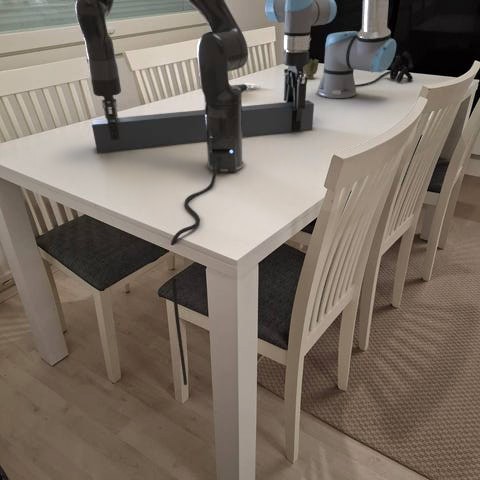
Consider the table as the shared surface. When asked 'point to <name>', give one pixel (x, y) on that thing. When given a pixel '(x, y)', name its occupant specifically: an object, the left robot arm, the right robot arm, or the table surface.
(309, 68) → the cup
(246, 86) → the spray bottle
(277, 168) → the table surface
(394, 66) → the squiggle
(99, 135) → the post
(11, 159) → the table surface
